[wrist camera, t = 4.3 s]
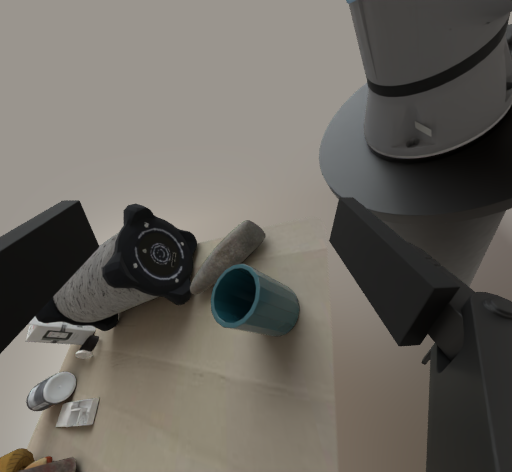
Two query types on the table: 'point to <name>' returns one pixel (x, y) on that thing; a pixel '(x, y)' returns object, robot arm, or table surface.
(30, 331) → the ink box
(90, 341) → the watch
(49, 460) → the food
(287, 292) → the drinking cup
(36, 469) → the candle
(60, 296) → the speaker
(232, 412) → the table surface
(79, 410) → the mousetrap
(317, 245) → the table surface
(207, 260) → the stone tool
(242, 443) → the table surface
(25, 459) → the figurine
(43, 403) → the pill bottle
